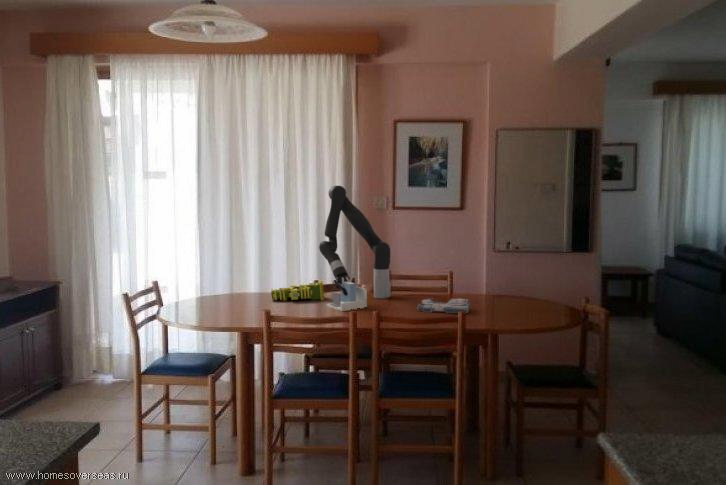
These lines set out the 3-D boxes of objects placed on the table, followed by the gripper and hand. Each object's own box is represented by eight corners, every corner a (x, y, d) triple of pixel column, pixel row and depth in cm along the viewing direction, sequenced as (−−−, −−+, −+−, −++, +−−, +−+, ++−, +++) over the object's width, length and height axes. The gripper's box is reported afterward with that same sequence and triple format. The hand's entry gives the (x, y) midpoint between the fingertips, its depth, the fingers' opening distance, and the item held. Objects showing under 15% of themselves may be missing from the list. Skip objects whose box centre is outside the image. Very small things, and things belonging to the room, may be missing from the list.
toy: (271, 284, 368) (321, 279, 371) (272, 301, 369) (322, 296, 372) (270, 289, 351) (323, 284, 355) (272, 307, 352) (324, 301, 356)
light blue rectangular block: (346, 300, 346) (346, 280, 344) (356, 303, 337) (356, 283, 336) (340, 301, 343) (340, 281, 342) (349, 304, 335) (349, 284, 334)
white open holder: (351, 302, 351) (351, 285, 350) (366, 307, 338) (366, 289, 337) (327, 306, 343) (326, 288, 342) (341, 311, 329) (341, 292, 328)
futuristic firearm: (472, 305, 337) (466, 316, 319) (423, 304, 347) (414, 314, 328) (472, 295, 336) (466, 306, 318) (422, 294, 346) (413, 304, 327)
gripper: (330, 266, 340) (341, 292, 332) (351, 264, 348) (363, 289, 339) (325, 275, 345) (336, 300, 337) (346, 272, 353) (358, 297, 344)
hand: (350, 294), depth 338 cm, fingers closed on light blue rectangular block, 4 cm apart
